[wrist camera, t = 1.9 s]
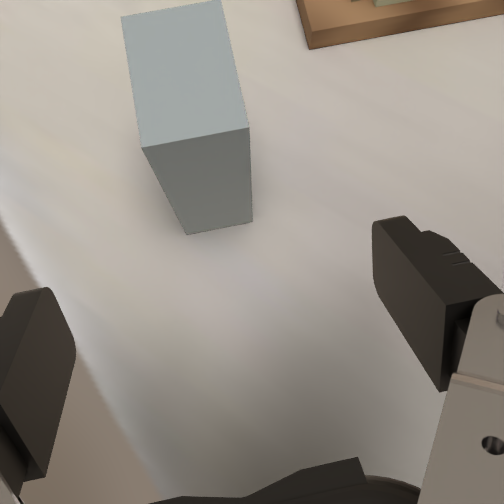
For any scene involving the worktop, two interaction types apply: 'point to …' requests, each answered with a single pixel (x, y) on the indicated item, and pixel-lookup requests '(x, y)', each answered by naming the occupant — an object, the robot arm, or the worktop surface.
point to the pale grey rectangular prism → (191, 113)
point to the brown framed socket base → (384, 17)
